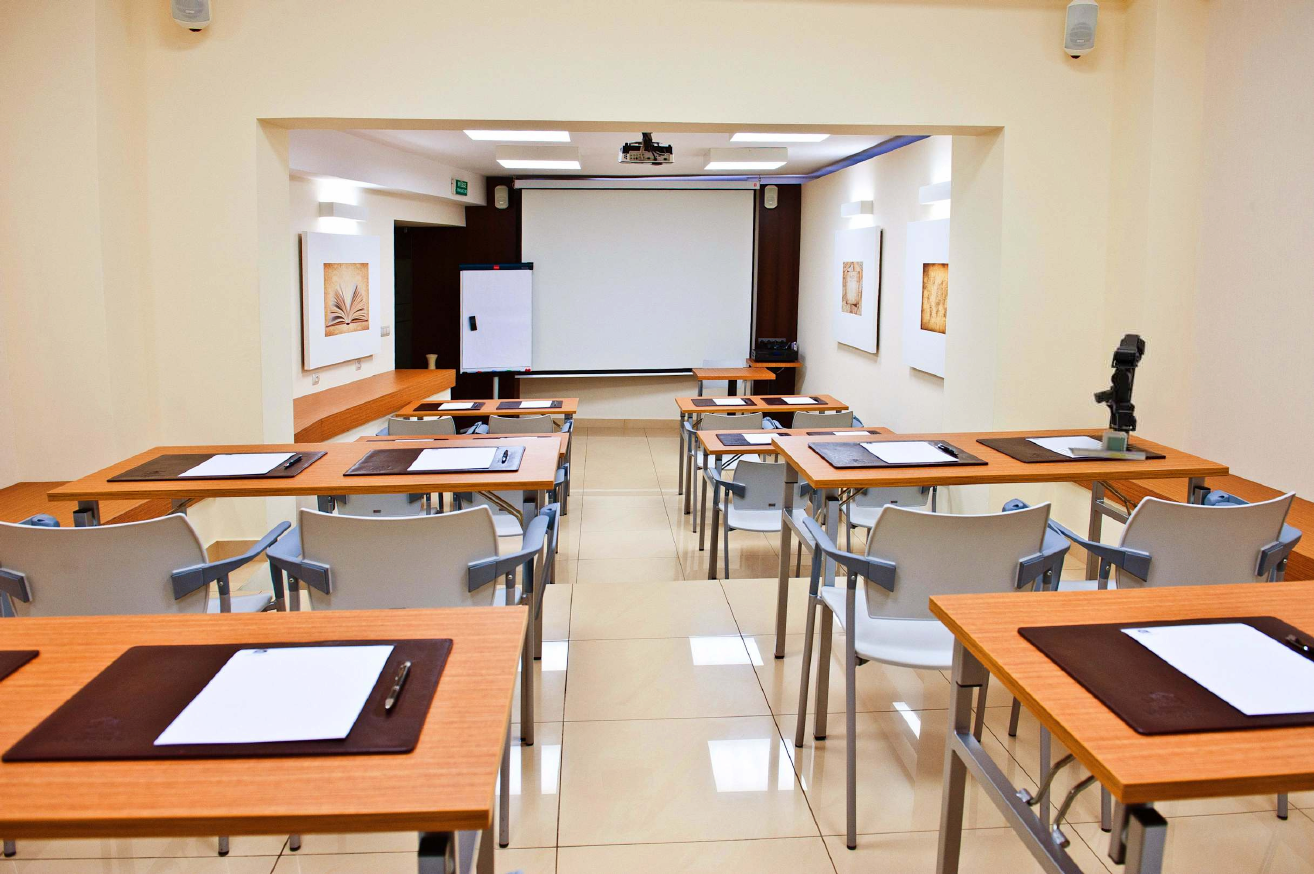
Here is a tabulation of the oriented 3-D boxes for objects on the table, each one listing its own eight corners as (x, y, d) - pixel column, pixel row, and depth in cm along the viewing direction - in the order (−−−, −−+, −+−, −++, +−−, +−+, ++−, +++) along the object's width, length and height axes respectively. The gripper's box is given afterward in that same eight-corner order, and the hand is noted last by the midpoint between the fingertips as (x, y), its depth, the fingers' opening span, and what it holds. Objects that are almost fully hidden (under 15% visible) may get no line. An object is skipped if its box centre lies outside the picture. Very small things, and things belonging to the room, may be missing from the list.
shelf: (1067, 449, 339) (1068, 441, 338) (1135, 454, 333) (1136, 446, 332) (1074, 457, 326) (1075, 448, 325) (1144, 462, 320) (1145, 454, 320)
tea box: (1100, 452, 332) (1103, 430, 331) (1121, 453, 330) (1124, 432, 329) (1103, 455, 327) (1106, 433, 326) (1124, 456, 326) (1127, 434, 324)
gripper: (1092, 379, 334) (1087, 420, 337) (1102, 386, 316) (1097, 430, 320) (1125, 380, 331) (1119, 422, 335) (1137, 388, 314) (1131, 432, 317)
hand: (1116, 426), depth 327 cm, fingers open, 9 cm apart
